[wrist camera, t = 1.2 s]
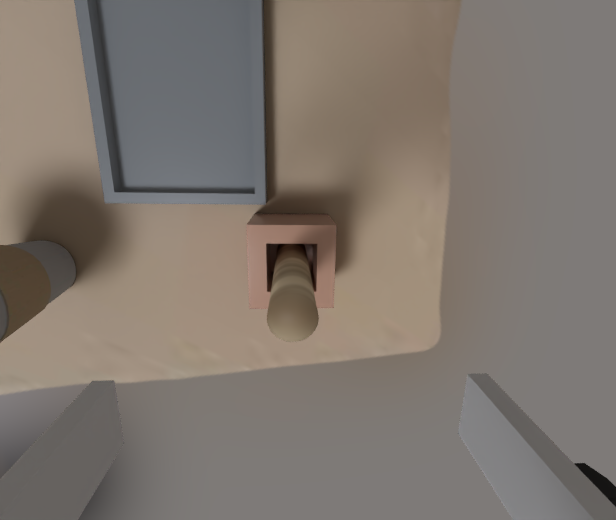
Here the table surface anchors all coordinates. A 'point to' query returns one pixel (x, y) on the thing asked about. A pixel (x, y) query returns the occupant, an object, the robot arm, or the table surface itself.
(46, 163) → the table surface
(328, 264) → the pink square tube
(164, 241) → the table surface
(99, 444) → the robot arm
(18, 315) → the coffee cup
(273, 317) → the dowel
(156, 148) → the tray
